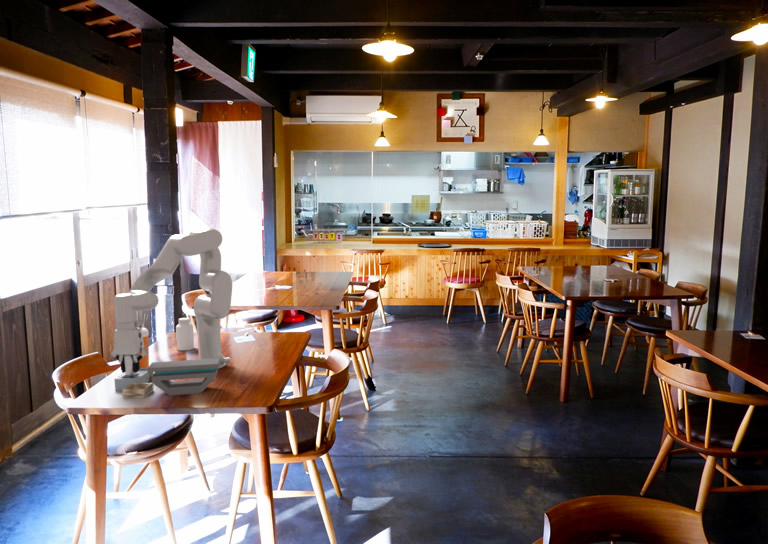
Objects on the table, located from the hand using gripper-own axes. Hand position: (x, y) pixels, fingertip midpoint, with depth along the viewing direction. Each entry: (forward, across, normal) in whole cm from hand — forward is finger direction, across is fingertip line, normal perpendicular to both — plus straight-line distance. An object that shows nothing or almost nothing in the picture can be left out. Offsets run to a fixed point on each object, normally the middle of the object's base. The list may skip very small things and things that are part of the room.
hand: (130, 371), depth 229 cm
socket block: (+6, 0, -3) cm, 7 cm away
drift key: (+6, -3, -8) cm, 11 cm away
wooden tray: (+6, -6, +8) cm, 12 cm away
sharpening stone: (+7, -23, +5) cm, 25 cm away
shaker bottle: (+7, +6, -20) cm, 22 cm away
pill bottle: (+7, 0, -57) cm, 58 cm away
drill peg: (+6, 0, 0) cm, 6 cm away
